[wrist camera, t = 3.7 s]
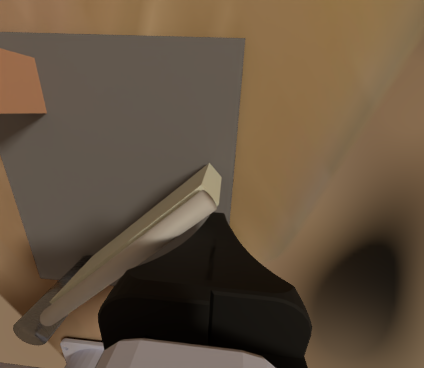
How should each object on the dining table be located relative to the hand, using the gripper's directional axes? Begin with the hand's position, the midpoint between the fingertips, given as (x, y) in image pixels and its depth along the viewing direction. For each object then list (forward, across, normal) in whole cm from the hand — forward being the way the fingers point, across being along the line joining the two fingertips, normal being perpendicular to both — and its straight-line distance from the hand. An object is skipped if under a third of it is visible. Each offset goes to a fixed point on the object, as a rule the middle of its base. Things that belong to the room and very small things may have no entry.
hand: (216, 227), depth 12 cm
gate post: (+3, +10, +6) cm, 12 cm away
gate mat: (+3, +7, -1) cm, 8 cm away
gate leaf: (+2, +5, +1) cm, 5 cm away
